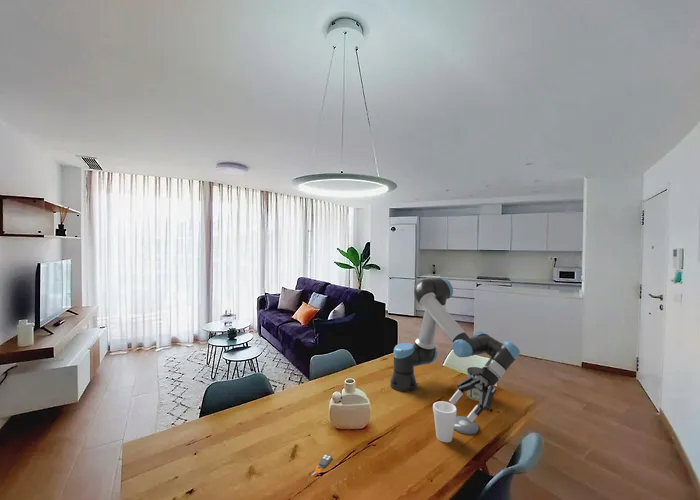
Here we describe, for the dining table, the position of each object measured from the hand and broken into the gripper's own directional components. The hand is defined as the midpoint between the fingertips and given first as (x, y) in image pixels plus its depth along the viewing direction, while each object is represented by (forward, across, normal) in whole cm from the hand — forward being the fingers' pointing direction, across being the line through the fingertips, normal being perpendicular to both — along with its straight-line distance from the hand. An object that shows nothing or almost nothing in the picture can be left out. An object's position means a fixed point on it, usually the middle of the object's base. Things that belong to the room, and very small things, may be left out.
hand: (459, 410), depth 129 cm
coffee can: (-12, +31, -29) cm, 44 cm away
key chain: (+50, -6, +34) cm, 61 cm away
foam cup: (+13, +1, -4) cm, 13 cm away
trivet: (+3, +7, -12) cm, 15 cm away
